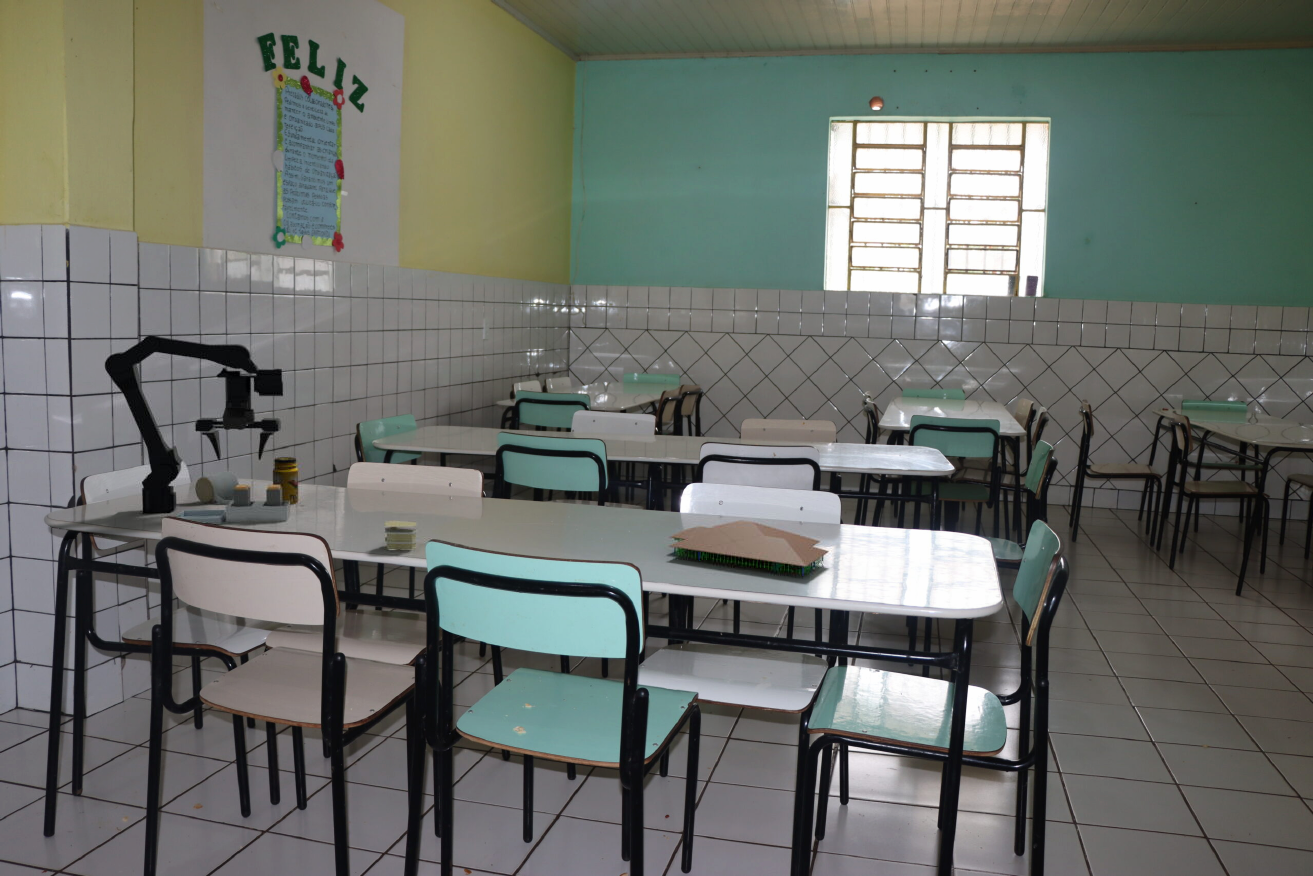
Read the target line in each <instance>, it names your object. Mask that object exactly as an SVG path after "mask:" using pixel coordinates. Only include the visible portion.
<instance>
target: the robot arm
mask: <svg viewBox="0 0 1313 876" xmlns="http://www.w3.org/2000/svg"><path fill="white" fill-rule="evenodd" d="M154 353H158V354H159V353H160V354H165V355H166V354H167V355H173V356H180V357H187V358H191V359H194V358H195V359H199V360H200V359H201V360H205V361H206V360H207V361H210V362H213V363H216V364H218V365H222V366H224V367H223V368H222V369H221V370H220V372H218V374H216V378H219V379H220V378H221V379H224V380H225V383H224V385H225V408H224V410H223V411H224V412H223V415H222V420H218V419H217V417H201V418H199V419H197V420H196V421H195V425H194V428H195V432H201V436H202V435H203V436H206V437H207V439H208V440H209V441H210V443H211V446H212V448H213V450H214V452H215V456H216V458H217V460H218V461H221V458H222V452H221V451H222V450H221V440H220V433H219V431H220V429H223V430H227V431H229V430H238V431H243V430H245V429H261V432H259V443H258V444H259V445H258V446H259V447H258V453H257V454H258V455H257V456H258V460H259V461H261V459H262V456H263V454H264V451H265V448H266V445H267V442H268V440H269V438H270V437H271V436H273V435H274V434H276V433H277V432H279V431H280V430H282V422H281V421H282V420H281V419H280V418H279V417H274V418H273V417H264V418H262V419H261V420H257V421H256V418H255V410H254V408H252V379H253V392H254V393H257V394H258V397H284V380H283V371H282V370H283V369H282V368H274V369H273V368H272V369H270V368H269V369H267V368H266V369H263V368H259V367H258V365H257V364H256V363H254V361H253V360H252V358H251V356H252V355H251V351H250V349H248V347H247V346H245V345H244V344H243V345H242V344H241V343H238V344H237V343H234V344H233V343H228V344H227V343H223V344H222V343H221V344H219V343H218V344H217V343H216V344H209V343H203V342H196V341H189V340H181V339H176V338H170V337H169V338H168V337H164V336H163V337H162V336H158V335H155V334H150V335H147V336H145V337H144V338H143V340H141V341H139V342H137V343H136V344H135V345H133V346H131V347H130V348H128V349H127V350H125V351H124V352H123V351H121V352H120V351H119V352H116V353H113V354H110V355H109V356H108V357H107V358H106V360H105V361H104V369H105V371H106V373H107V374H108V376H109V377H110V379H111V380H112V382H113V383H114V385H115V386H116V387H117V388H118V389H119V390H120V391H121V393H122V394H123V397H124V398H125V401H126V403H127V405H128V407H129V410H130V413H131V415H132V417H133V419H134V422H135V425H136V427H137V428H138V431H139V433H140V434H141V437H142V439H143V442H144V444H145V447H146V448H147V456H148V461H149V466H150V472H149V474H147V475H146V476H145V478H144V479H143V480H142V481H141V485H142V488H141V498H142V499H141V500H142V511H141V512H140V515H145V514H146V515H149V514H151V515H154V514H158V515H159V514H161V515H162V514H172V512H175V510H177V507H178V506H177V492H176V491H174V485H171V483H172V482H174V481H175V480H176V479H177V478H178V476H179V474H180V472H181V470H182V465H181V464H182V462H183V459H182V458H181V457H180V456H179V454H178V449H177V446H176V445H175V446H172V447H170V446H169V445H168V444H167V442H166V441H165V440H164V437H163V435H162V433H161V431H160V428H159V426H158V423H157V421H156V419H155V417H154V414H153V412H152V410H151V407H150V405H149V403H148V401H147V398H146V395H145V393H144V392H143V389H142V386H141V380H140V373H139V367H138V365H139V364H140V363H142V361H145V360H146V359H147V358H149V357H150V356H151V355H153V354H154ZM226 367H228V368H230V369H234V370H228V369H227V368H226ZM239 369H241V370H242V371H244V372H246V373H247V374H242V372H241V370H239Z"/></svg>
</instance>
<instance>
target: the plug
mask: <svg viewBox="0 0 1313 876" xmlns="http://www.w3.org/2000/svg"><path fill="white" fill-rule="evenodd" d="M251 501H252V500H251V486H249V484H239V485H237V486H236V487H235V489H234V506H251Z"/></svg>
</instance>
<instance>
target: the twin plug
mask: <svg viewBox="0 0 1313 876" xmlns="http://www.w3.org/2000/svg"><path fill="white" fill-rule="evenodd" d="M265 491H266V493H265V494H266V497H265V499H266V500H265V501H266V504H267V506H282V487H281V486H280V485H273V484H269V485H268V486H267V489H266V490H265Z"/></svg>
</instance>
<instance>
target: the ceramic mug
mask: <svg viewBox="0 0 1313 876" xmlns="http://www.w3.org/2000/svg"><path fill="white" fill-rule="evenodd" d="M238 480H239V479H238V478H237V476H236V475H235V474H234V473H233V472H232V471H230V470H224V471H220V472H216V473H215V472H214V473H212V474H208V475H203V476H202V477H199V478H198V479H197V480H196V483H195V487H194V488H195V494H196V497H197V499H198V500H199V501H200V502H201V503H203V504H220V505H228V504H229V503H230V502H231V501H234V489H235V487H236V486H237V485H240V484H239V481H238Z"/></svg>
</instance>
